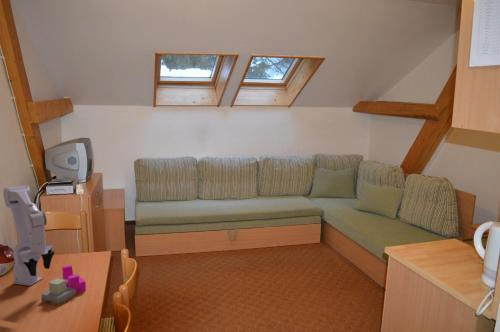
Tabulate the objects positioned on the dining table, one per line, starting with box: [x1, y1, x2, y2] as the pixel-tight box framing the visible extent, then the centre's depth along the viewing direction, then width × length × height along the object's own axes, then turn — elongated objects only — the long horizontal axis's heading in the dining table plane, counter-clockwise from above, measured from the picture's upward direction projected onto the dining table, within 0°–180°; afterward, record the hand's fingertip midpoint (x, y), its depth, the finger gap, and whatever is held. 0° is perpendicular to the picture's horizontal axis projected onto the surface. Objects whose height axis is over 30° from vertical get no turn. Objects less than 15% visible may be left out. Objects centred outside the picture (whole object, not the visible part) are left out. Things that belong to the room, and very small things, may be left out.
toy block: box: [61, 264, 87, 294], centre depth 178 cm, size 15×6×8 cm, turn 36°
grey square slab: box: [41, 293, 76, 306], centre depth 167 cm, size 9×9×2 cm
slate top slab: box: [41, 287, 76, 303], centre depth 167 cm, size 9×9×2 cm
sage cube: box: [48, 277, 66, 295], centre depth 166 cm, size 4×4×4 cm
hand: (40, 271), depth 169 cm, fingers open, 7 cm apart
